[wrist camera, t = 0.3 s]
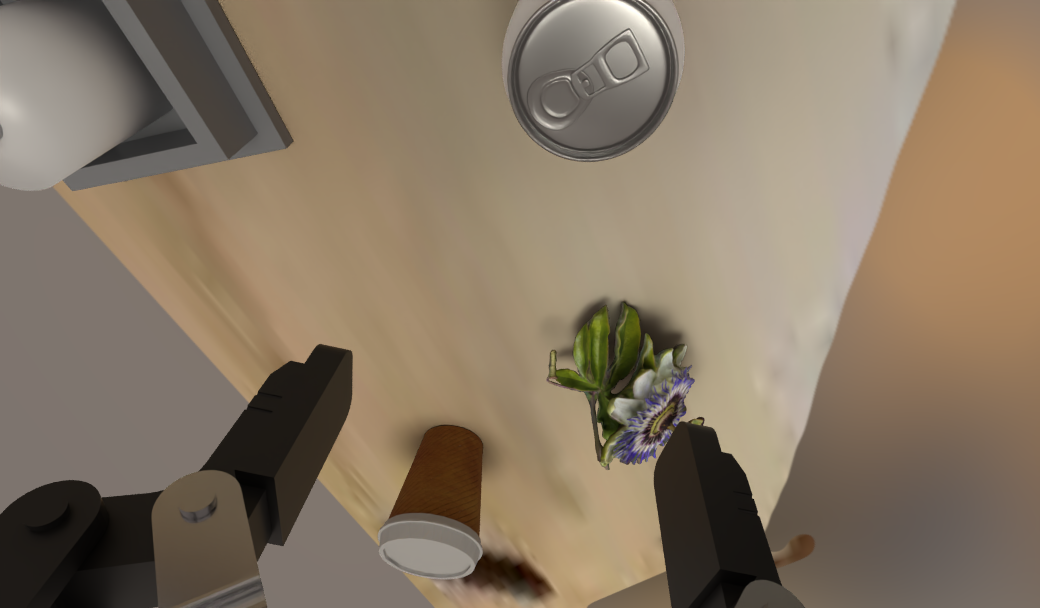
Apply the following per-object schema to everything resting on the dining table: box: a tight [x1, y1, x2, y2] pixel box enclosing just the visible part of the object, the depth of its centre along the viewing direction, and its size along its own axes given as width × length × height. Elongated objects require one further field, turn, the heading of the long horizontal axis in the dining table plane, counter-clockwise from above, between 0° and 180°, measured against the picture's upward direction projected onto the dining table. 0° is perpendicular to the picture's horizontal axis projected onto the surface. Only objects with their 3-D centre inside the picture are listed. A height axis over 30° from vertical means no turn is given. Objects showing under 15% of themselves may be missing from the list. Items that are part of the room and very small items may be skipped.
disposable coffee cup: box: [378, 426, 483, 579], centre depth 50 cm, size 10×10×12 cm
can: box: [502, 0, 685, 162], centre depth 21 cm, size 6×6×12 cm
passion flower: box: [547, 302, 704, 470], centre depth 40 cm, size 11×11×12 cm
